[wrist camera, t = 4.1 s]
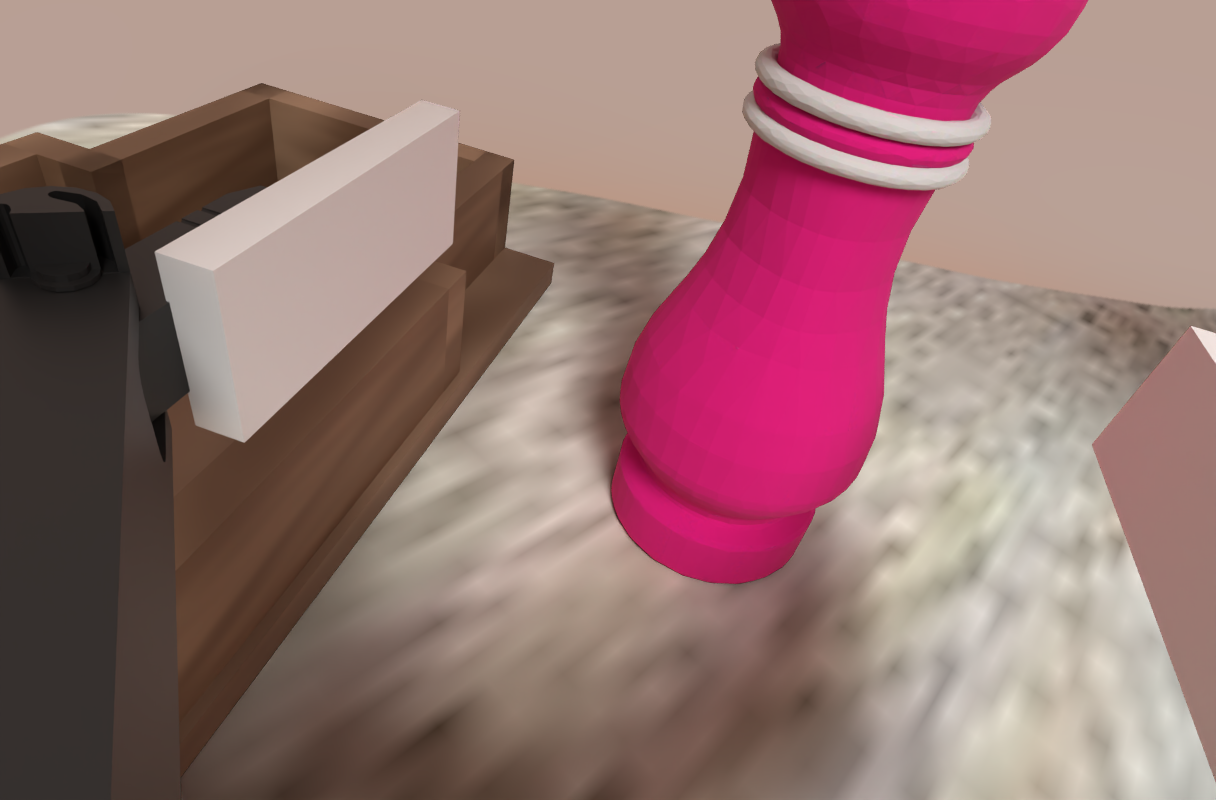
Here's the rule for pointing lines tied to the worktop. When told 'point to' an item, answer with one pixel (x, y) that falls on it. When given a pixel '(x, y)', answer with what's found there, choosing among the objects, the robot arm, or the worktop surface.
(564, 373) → the worktop surface
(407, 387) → the keyhole cradle
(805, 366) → the pepper mill
